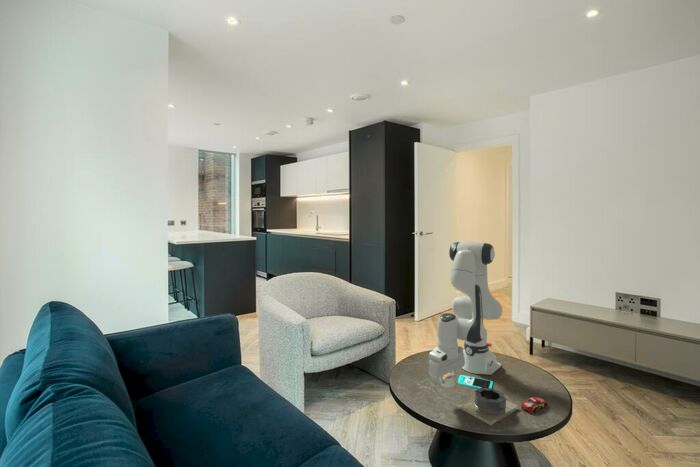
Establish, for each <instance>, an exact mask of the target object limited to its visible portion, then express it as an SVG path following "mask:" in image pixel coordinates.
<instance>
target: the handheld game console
mask: <svg viewBox="0 0 700 467" xmlns="http://www.w3.org/2000/svg"><path fill="white" fill-rule="evenodd" d="M457 383H458V385H461V386H465V387H469V388H474V389H477V390H478V389H480V388H493V386H494V385H493V384H494V381H493V380H489V379H486V378H485V379H483V378H479V377H475V376H469V375H464V374H460V375H459V377H458V379H457Z"/></svg>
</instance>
